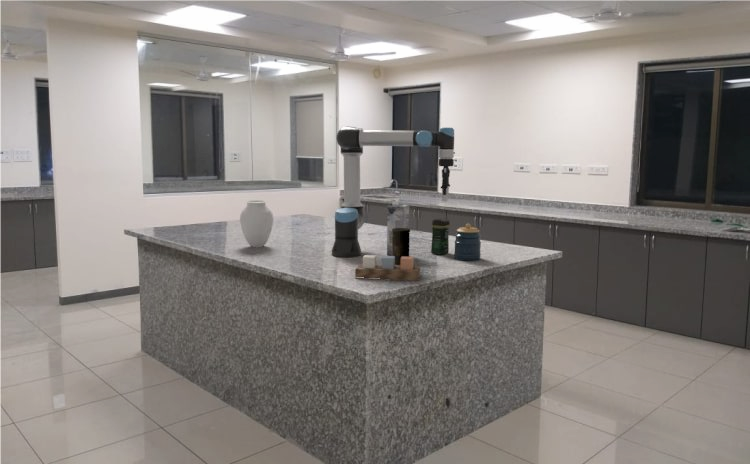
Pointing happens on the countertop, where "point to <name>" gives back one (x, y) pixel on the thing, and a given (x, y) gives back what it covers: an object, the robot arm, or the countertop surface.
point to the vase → (256, 223)
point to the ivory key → (369, 261)
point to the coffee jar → (440, 236)
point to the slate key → (388, 262)
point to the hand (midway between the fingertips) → (445, 200)
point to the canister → (467, 244)
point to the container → (400, 244)
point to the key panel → (388, 273)
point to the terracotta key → (407, 263)
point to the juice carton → (396, 221)
